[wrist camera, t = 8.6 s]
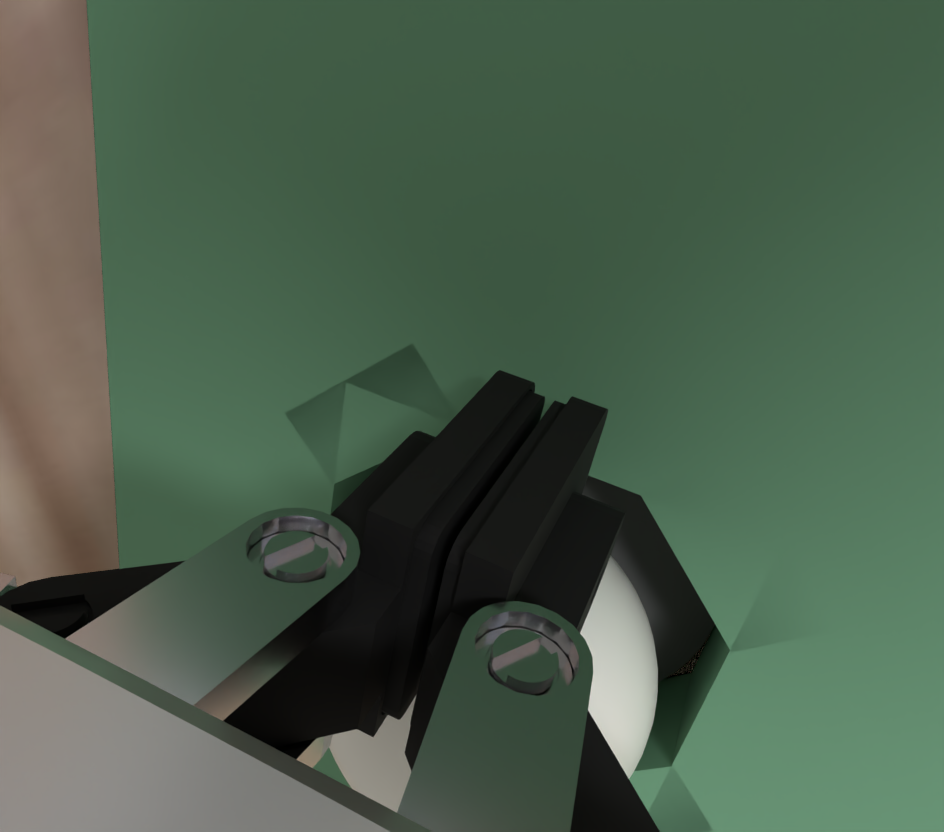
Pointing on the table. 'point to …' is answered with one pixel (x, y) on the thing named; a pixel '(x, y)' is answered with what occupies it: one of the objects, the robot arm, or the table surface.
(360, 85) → the mat
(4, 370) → the table surface
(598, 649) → the ball
